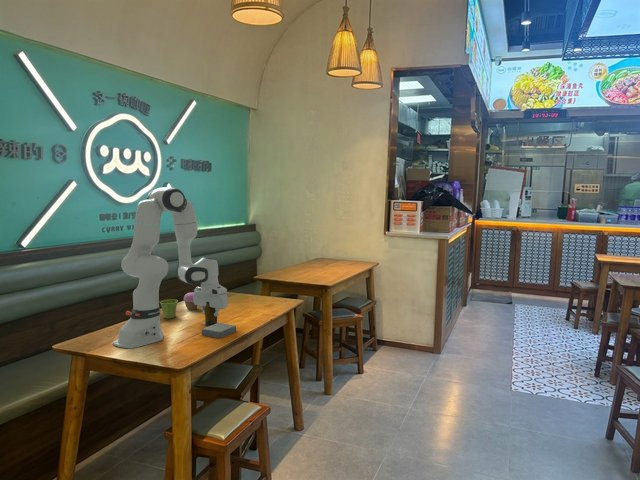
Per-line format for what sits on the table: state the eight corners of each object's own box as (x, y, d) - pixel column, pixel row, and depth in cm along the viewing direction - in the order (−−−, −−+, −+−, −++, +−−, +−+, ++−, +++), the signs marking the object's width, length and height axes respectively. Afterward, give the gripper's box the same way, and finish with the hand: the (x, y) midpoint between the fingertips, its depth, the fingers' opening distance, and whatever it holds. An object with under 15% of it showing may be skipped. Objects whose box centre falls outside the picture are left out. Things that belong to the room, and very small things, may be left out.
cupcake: (202, 308, 268) (202, 291, 267) (191, 312, 261) (190, 294, 260) (192, 306, 273) (191, 290, 272) (180, 309, 266) (180, 292, 265)
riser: (219, 338, 215) (219, 332, 215) (201, 334, 220) (201, 328, 220) (236, 331, 226) (236, 325, 226) (218, 328, 231) (218, 322, 231)
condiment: (214, 320, 244) (214, 298, 242) (222, 324, 237) (221, 301, 236) (201, 323, 239) (200, 300, 238) (209, 327, 233) (208, 303, 231)
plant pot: (157, 319, 246) (157, 303, 245) (163, 314, 255) (162, 299, 254) (175, 319, 246) (175, 303, 245) (180, 314, 256) (180, 299, 255)
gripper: (190, 287, 239) (190, 313, 240) (221, 291, 229) (221, 319, 231) (198, 285, 244) (199, 311, 246) (229, 289, 235) (230, 316, 236)
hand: (210, 315), depth 238 cm, fingers closed on condiment, 6 cm apart
